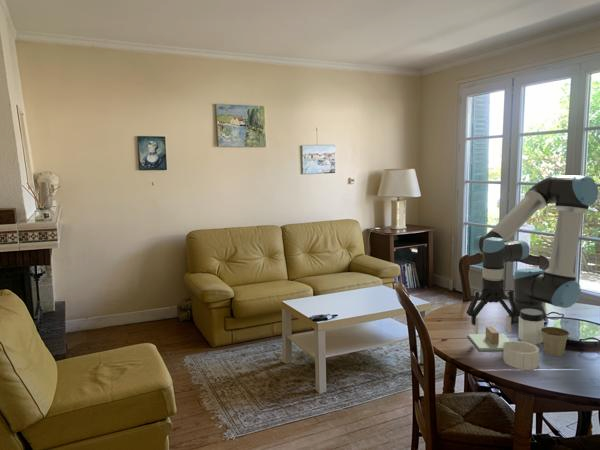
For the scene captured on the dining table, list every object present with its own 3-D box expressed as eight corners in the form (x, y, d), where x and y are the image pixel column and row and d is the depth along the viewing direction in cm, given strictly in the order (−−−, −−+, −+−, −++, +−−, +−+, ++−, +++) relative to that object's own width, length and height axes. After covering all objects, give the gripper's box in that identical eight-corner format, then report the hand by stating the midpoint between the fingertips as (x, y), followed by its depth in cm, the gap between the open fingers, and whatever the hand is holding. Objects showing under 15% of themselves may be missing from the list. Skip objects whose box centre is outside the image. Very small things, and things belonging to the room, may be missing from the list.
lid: (503, 336, 180) (503, 323, 179) (517, 350, 166) (518, 336, 165) (468, 336, 181) (468, 323, 180) (479, 350, 167) (479, 336, 166)
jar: (532, 346, 170) (533, 316, 168) (514, 339, 177) (514, 310, 175) (547, 342, 173) (548, 312, 172) (529, 335, 181) (530, 307, 179)
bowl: (530, 356, 161) (530, 340, 161) (544, 370, 150) (545, 353, 150) (499, 356, 162) (499, 341, 161) (511, 370, 151) (511, 353, 150)
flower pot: (533, 349, 167) (534, 327, 166) (557, 347, 168) (558, 325, 167) (549, 360, 158) (550, 336, 157) (574, 358, 159) (575, 334, 158)
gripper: (521, 275, 173) (519, 328, 176) (458, 276, 175) (457, 329, 177) (529, 280, 165) (528, 335, 168) (464, 281, 167) (463, 336, 170)
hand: (492, 332), depth 173 cm, fingers open, 12 cm apart
